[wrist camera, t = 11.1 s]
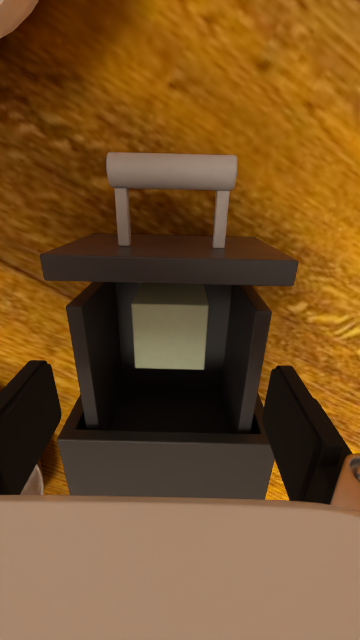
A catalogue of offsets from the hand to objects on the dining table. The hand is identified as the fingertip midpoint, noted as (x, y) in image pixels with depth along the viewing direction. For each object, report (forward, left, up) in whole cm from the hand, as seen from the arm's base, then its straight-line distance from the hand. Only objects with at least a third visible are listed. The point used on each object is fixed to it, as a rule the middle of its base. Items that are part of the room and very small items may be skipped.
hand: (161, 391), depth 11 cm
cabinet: (+12, 0, -11) cm, 17 cm away
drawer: (0, 0, -10) cm, 10 cm away
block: (0, 0, -9) cm, 9 cm away
